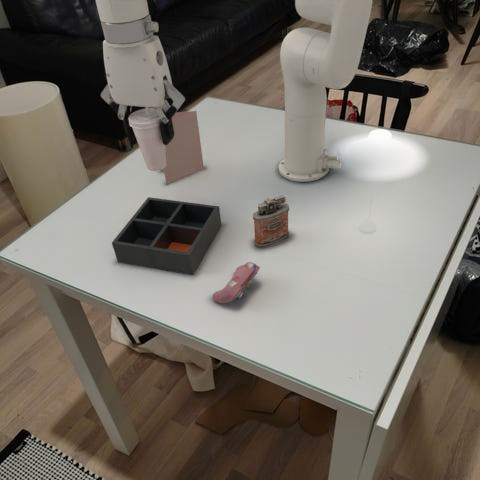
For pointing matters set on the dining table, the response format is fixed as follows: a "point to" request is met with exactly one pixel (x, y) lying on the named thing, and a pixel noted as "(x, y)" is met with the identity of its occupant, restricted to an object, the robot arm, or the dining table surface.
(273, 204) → the lighter
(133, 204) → the dining table surface
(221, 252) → the dining table surface
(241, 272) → the video game controller
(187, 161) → the greeting card
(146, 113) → the smoothie
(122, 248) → the crate
